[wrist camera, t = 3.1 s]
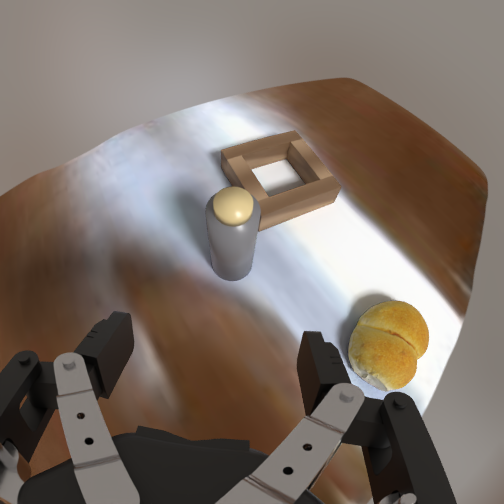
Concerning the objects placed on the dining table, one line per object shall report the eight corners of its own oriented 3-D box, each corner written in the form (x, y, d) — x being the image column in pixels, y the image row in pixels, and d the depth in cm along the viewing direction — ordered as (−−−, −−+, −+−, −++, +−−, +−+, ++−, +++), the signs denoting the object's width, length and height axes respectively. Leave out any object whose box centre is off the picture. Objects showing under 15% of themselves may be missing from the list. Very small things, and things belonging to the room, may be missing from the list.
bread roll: (428, 331, 27) (449, 321, 24) (391, 401, 24) (413, 400, 20) (375, 288, 29) (392, 274, 26) (330, 357, 26) (346, 352, 22)
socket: (221, 167, 35) (221, 150, 32) (291, 147, 37) (294, 130, 35) (258, 231, 31) (261, 216, 28) (333, 202, 33) (341, 186, 31)
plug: (205, 253, 29) (196, 191, 21) (241, 238, 30) (246, 173, 22) (221, 287, 28) (218, 235, 19) (259, 271, 29) (272, 214, 20)
